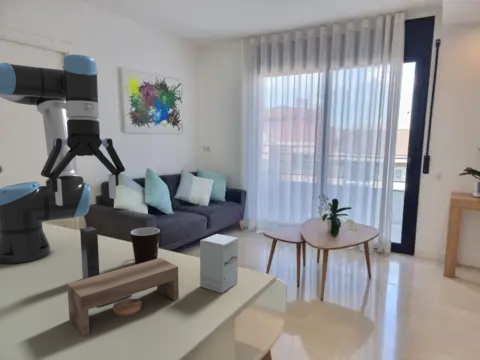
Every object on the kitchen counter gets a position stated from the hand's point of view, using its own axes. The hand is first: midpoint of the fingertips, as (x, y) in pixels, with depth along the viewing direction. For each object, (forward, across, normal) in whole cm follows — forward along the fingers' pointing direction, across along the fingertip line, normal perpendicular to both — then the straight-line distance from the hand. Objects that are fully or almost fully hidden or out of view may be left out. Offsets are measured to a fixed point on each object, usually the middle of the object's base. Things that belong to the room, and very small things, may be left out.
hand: (87, 201), depth 88 cm
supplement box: (+22, +23, -26) cm, 41 cm away
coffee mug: (+22, +18, +2) cm, 28 cm away
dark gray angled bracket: (+22, 0, -7) cm, 23 cm away
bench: (+22, 0, -21) cm, 30 cm away
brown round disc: (+22, 0, -21) cm, 30 cm away
